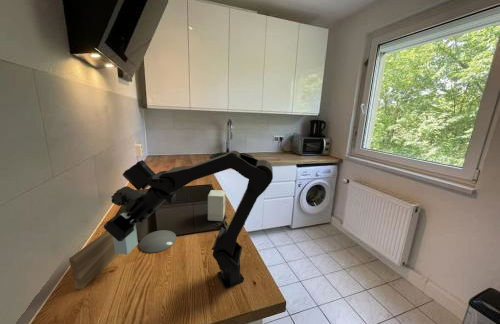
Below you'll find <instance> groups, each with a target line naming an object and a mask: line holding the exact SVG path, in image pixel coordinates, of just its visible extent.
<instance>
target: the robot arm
mask: <svg viewBox="0 0 500 324" xmlns="http://www.w3.org/2000/svg"><path fill="white" fill-rule="evenodd" d="M231 169H232V170H233V171H235V172H237V173H238V174H240V175H241V176H242V177H244V178H245V179H247V180H248V181H247V185H246V189H245V191H244V193H243V194H242V197H241V199H240V201H239V204H238V205H237V207H236V210H235V212H234V214H233V216H232V217H233V218H232V220H231V222H230V224H229V226H228V227H227V228H226V227H225V228H224V227H223V226H221V228H220V229H219V233H218V234H217V235H216V237H215V240H214V243H213V245H212V248H211V251H213V252H212V257H213V259H214V260H215V261H216V263H217V265H218V268H219V270H220V271H218V272H217V273H216V274H217V277H218V278H219V280H220V282H221V284H222V286H223V288H224V289H229V288H231V287H233V286H235V285H237V284H240V283H242V282H244V281H245V278H244V277H243V275H242V274H241V256H242V251H243V247H242V245H241V244H239V242H238V241H237V240H238V237H239V236H240V233H241V232H242V229H243V227H244V226H245V225H244V224H246V221H247V219H248V218H249V216H250V213H251V212H252V210H253V208H254V205H255V204H256V202H257V199H258V198H259V197H260V196H261V195H262V194H263V193H264V192H265V191H266V190H267V188H268V187H269V186H270V185H271V183H272V182H273V178H274V177H273V176H274V173H273V171H274V170H273V166H272V164H271V163H270V162H269V161H267V160H264V159H257V158H255V157H253V156H249V155H246V154H243V153H241V152H239V151H237V150H231V151H229V152H228V153H225V154H221V155H218V156H216V157H213V158H209V159H207V160H204V161H202V162H199V163H196V164H194V165H181V166H176V167H172V168H170V169H169V170H160V171H158V172H157V173H156V172H154V171H153V169H151V168H150V167H149V166H148V164H147V163H146V162H145V161H144V160H143V159H142V160H139V161H137V162H136V163H135V164H134V165H131V166H130V167H129V168H127V169H126V170H125V171H124V172H123V173H122V177H124V179H125V180H127V181H128V183H130V184H131V185H132V186H133V187H134V188H135V189H136V190H135V189H134V188H132V187H130V186H123V187H121V188H120V189H117V190H116V191H115V192H114V193H113V195H111V197H110V198H111V203H112V204H114V205H116V206H118V207H120V206H121V207H122V206H123V207H125V208H124V211H125V212H126V213H128V214H126V216H127V217H129V216H130V217H129V218H128V219H127V218H126V219H125V218H124V217H123V216H122V215H120V214H115V216H113V217H112V218H110V219H109V220H107V221H106V222H105V223H104V224H103V229H104V230H105V231H108V232H109V233H110V234H111V235H112V236H113V237H114V238H115V239H116V240H118V241H123V240H124V239H125V238H126V237H127V236H128V235H129V234H131V233H132V232H133V231H134V227H135V223H136V224H137V223H141V224H142V223H143V222H144V221H145V220H147V219H148V218H150V217H151V216H152V214H154V213H155V212H157V211H158V210H159V209H160V208H161V207H162V204H164V202H167V203H168V204H169V205H171V204H173V203H174V202H175V201H176V200H177V194H176V193H177V191H178V190H180V189H182V188H185V186H187V185H188V184H191V182H194V181H197V180H199V179H202V178H205V177H208V176H211V175H215V174H218V173H220V172H224V171H226V170H231ZM141 189H142V191H144V192H143V193H140V192H139V191H141ZM145 190H146V191H145ZM133 219H134V220H133ZM132 220H133V221H132ZM130 221H132V222H130Z"/></svg>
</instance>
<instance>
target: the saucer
mask: <svg viewBox="0 0 500 324" xmlns="http://www.w3.org/2000/svg"><path fill="white" fill-rule="evenodd" d="M176 241H177V235H176V233H175V232H174V231H171V230H166V229H165V230H164V229H161V230H156V231H152V232H150V233H148V234H146V235H145V236H143V237H142V238H141V239H140V241H139V242H138V245H139V249H140V250H141V251H142V252H144V253H149V254H153V253H154V254H155V253H160V252H163V251H166V250H168V249H170V248H171V247H172V246H173V245H174V244H175V243H176Z"/></svg>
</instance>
